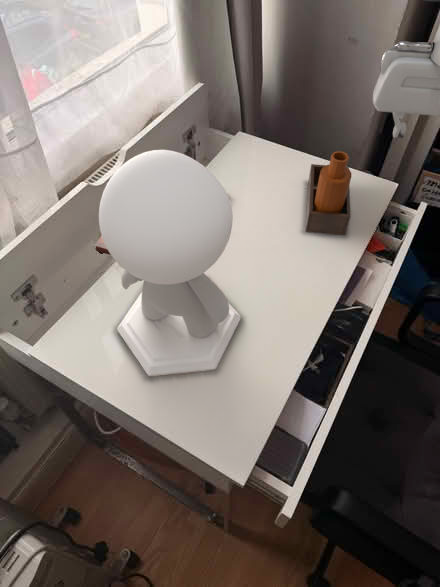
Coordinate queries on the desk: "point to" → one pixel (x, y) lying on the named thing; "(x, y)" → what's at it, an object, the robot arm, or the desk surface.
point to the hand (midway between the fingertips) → (428, 138)
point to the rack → (324, 220)
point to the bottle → (333, 184)
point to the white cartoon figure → (170, 260)
